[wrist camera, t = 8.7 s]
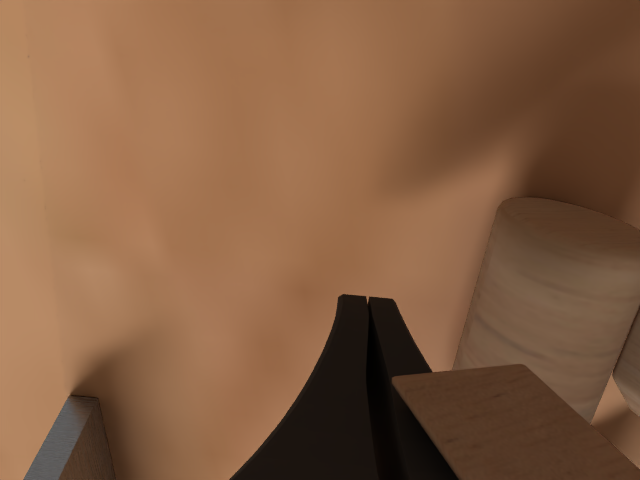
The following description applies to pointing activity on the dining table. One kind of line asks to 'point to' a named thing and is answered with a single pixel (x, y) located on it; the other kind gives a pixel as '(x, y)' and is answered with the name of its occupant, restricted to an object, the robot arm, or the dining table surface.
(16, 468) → the dining table surface
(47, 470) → the pair of rectangular slabs
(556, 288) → the wooden block set
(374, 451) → the robot arm
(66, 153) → the dining table surface
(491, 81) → the dining table surface
